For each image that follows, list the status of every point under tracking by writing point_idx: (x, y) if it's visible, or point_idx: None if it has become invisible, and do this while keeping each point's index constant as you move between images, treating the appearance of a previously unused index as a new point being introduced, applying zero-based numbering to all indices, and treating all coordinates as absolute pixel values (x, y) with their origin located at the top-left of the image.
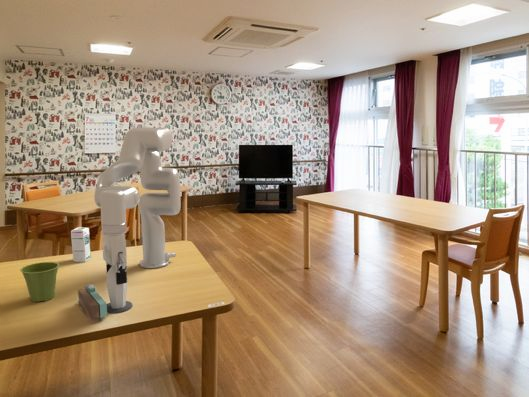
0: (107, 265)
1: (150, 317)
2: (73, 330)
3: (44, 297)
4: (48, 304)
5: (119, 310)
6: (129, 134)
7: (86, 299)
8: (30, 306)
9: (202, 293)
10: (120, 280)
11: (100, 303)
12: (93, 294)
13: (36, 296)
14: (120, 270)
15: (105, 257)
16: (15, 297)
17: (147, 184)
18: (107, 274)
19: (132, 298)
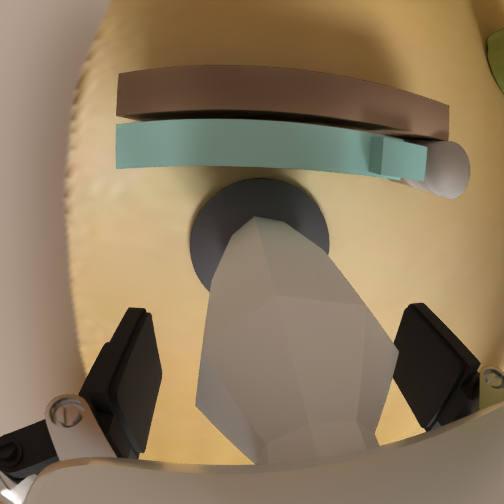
0: (459, 367)
1: (88, 314)
2: (142, 18)
3: (494, 50)
4: (460, 44)
5: (203, 238)
6: None
7: (261, 69)
8: (465, 7)
9: (199, 462)
10: (103, 351)
11: (129, 131)
12: (326, 139)
13: (499, 31)
14: (33, 428)
15: (473, 493)
16: None
17: None
18: (322, 308)
19: None
